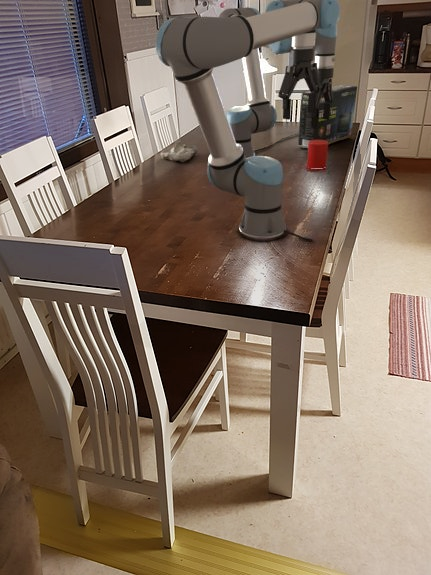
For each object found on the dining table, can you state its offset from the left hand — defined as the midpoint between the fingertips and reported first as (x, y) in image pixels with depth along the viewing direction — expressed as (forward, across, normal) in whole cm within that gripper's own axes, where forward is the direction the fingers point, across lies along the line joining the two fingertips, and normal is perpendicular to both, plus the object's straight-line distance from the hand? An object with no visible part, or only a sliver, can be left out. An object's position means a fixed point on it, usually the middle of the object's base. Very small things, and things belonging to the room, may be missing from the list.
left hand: (320, 122), depth 196 cm
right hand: (-10, -38, -6) cm, 40 cm away
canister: (+20, 0, 0) cm, 20 cm away
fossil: (+19, -12, +68) cm, 72 cm away
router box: (+20, +45, +13) cm, 51 cm away
